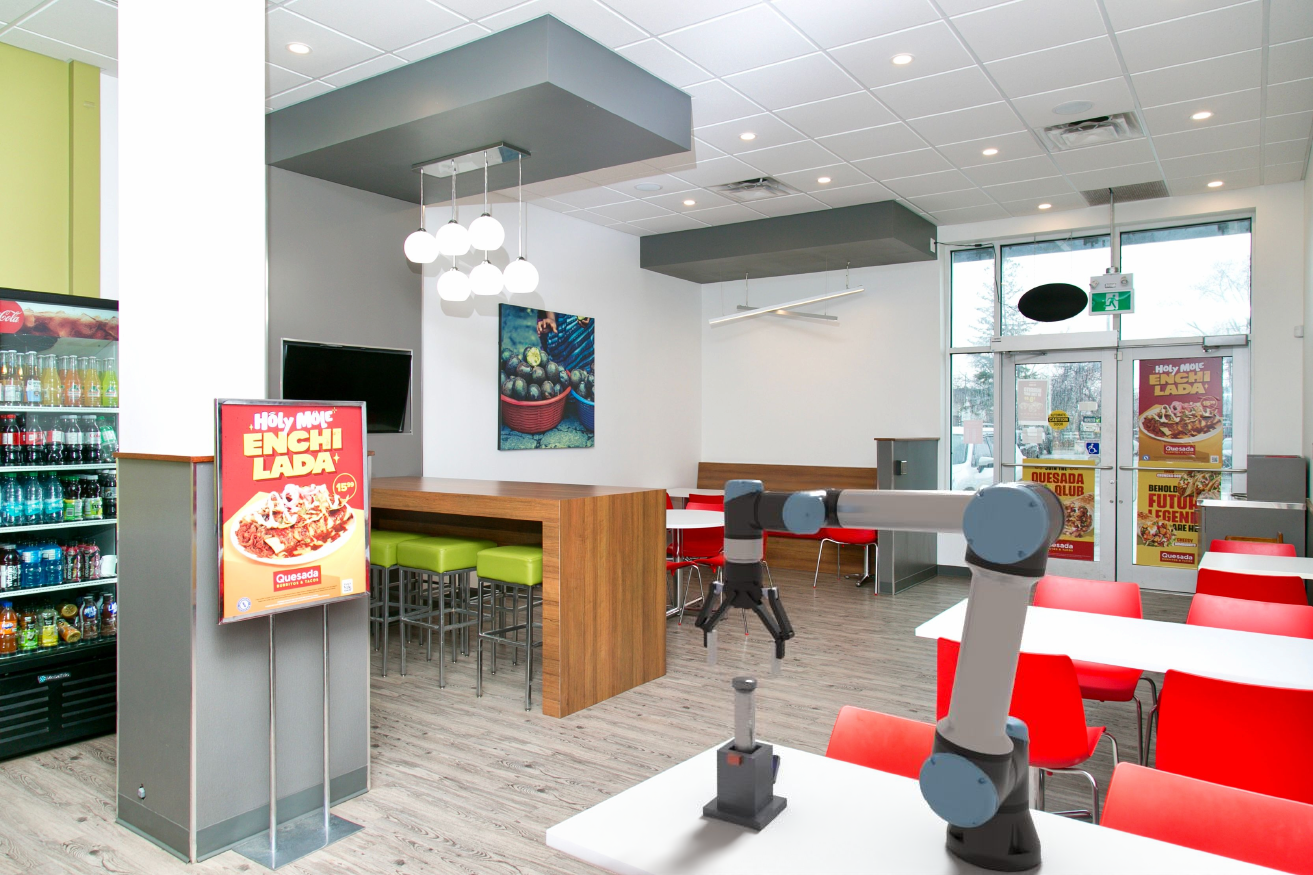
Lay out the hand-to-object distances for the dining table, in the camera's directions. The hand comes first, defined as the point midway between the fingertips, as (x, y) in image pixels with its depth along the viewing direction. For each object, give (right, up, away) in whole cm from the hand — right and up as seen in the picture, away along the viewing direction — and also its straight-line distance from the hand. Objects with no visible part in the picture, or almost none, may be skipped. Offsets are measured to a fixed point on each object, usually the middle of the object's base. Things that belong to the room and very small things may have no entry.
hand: (743, 670), depth 156 cm
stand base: (0, -27, 0) cm, 27 cm away
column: (0, -25, 0) cm, 25 cm away
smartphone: (+6, -28, +20) cm, 34 cm away
